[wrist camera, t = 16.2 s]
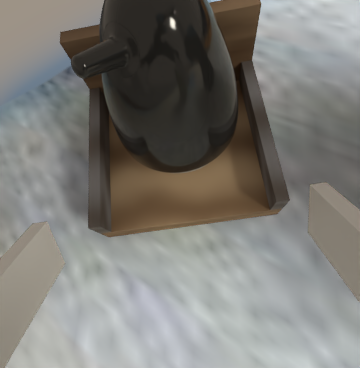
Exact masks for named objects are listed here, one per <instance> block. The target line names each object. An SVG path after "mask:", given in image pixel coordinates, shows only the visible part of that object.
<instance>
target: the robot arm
mask: <svg viewBox="0 0 360 368" xmlns="http://www.w3.org/2000/svg"><path fill="white" fill-rule="evenodd" d="M308 233H309V235H310V236H311V237H312V239H313V240H314V241H315V243H316V244H317V245H318V247H319V248H320V249H321V251H322V252H323V253H324V255H325V256H326V258H327V259H328V260H329V262H330V263H331V264H332V266H333V267H334V268H335V270H336V271H337V272H338V274H339V275H340V277H341V278H342V279H343V281H344V282H345V283H346V285H347V286H348V287H349V289H350V290H351V291H352V293H353V294H354V296H355V297H356V298H357V300H358V301H359V302H360V210H359V209H358V208H357V207H356V206H354V205H353V204H352V203H351V202H350V201H348V200H347V199H346V198H345V197H344V196H342V195H341V194H340V193H339V192H338V191H336V190H335V189H334V188H333V187H332V186H330V185H329V184H328V183H327V182H324V183H317V184H310V193H309V218H308ZM64 265H65V262H64V260H63V257H62V255H61V253H60V250H59V248H58V246H57V243H56V241H55V239H54V236H53V234H52V232H51V230H50V227H49V225H48V223H47V222H40V223H33V224H32V225H31V226H30V227H29V228H28V229H27V230H26V231H25V233H24V234H23V235H22V236H21V237H20V238H19V239H18V240H17V241H16V242H15V243H14V244H13V246H12V247H11V248H10V249H9V250H8V251H7V252H6V253H5V254H4V255H3V256H2V257H1V258H0V368H5V366H6V364H7V363H8V361H9V359H10V358H11V356H12V354H13V352H14V351H15V349H16V347H17V346H18V344H19V342H20V340H21V339H22V337H23V335H24V334H25V332H26V330H27V328H28V327H29V325H30V323H31V321H32V320H33V318H34V316H35V315H36V313H37V311H38V309H39V308H40V306H41V304H42V303H43V301H44V299H45V297H46V296H47V294H48V292H49V291H50V289H51V287H52V285H53V284H54V282H55V280H56V279H57V277H58V275H59V273H60V272H61V270H62V268H63V266H64Z"/></svg>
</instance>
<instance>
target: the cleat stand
mask: <svg viewBox="0 0 360 368" xmlns="http://www.w3.org/2000/svg"><path fill="white" fill-rule="evenodd" d="M209 4H210V6H211V8H212V10H213V12H214V14H215V16H216V18H217V20H218V22H219V25H220V27H221V30H222V32H223V35H224V37H225V40H226V43H227V46H228V49H229V53H230V56H231V60H232V64H233V68H234V73H235V78H236V85H237V94H238V121H237V127H236V131H235V134H234V136H233V138H232V140H231V142H230V144H229V145H228V147H227V148H226V149H225V150H224V151H223V153H222V154H221V155H219V156H218V157H217V158H216V159H215V160H213V161H212V162H210V163H209V164H207V165H205V166H204V167H202V168H200V169H197V170H195V171H191V172H187V173H166V172H160V171H156V170H153V169H150V168H148V167H145V166H144V165H142V164H140V163H139V162H137V161H136V160H135V159H134V158H133V157H132V156H131V155H130V154H129V153H128V152H127V150H126V149H125V148H124V146H123V145H122V143H121V141H120V139H119V137H118V135H117V133H116V130H115V128H114V125H113V123H112V120H111V117H110V114H109V111H108V108H107V104H106V100H105V95H104V90H103V84H102V77H101V74H99V75H96V76H93V77H90V78H87V79H83V80H84V81H85V83H86V84H87V86H88V87H89V89H90V110H89V209H88V228H89V229H91V230H94V231H96V232H98V233H101V234H103V235H105V236H107V237H113V236H120V235H128V234H135V233H142V232H150V231H157V230H164V229H171V228H179V227H186V226H193V225H201V224H208V223H215V222H223V221H230V220H237V219H244V218H252V217H259V216H266V215H274V214H278V212H279V211H280V210H281V209H282V208H283V207H284V206H285V205H286V204H287V202H288V201H289V200H290V199H289V195H288V191H287V188H286V184H285V180H284V177H283V173H282V169H281V166H280V162H279V158H278V155H277V151H276V147H275V144H274V140H273V136H272V133H271V129H270V125H269V121H268V118H267V114H266V110H265V107H264V103H263V99H262V96H261V92H260V88H259V85H258V81H257V77H256V74H255V70H254V66H253V63H252V56H253V50H254V44H255V38H256V32H257V26H258V20H259V14H260V8H261V2H260V0H221V1H216V2H211V3H209ZM99 27H100V24H99V25H95V26H90V27H85V28H79V29H74V30H69V31H65V32H61V35H60V44H61V45H62V47H63V48H64V50H65V52H66V53H67V55H68V56H69V58H70V59H72V57H73V56H74V55H76V54H78V53H80V52H82V51H84V50H86V49H88V48H90V47H92V46H94V45H96V44H98V43H99Z"/></svg>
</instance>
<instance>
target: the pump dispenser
mask: <svg viewBox="0 0 360 368" xmlns="http://www.w3.org/2000/svg"><path fill="white" fill-rule="evenodd" d="M71 66H72V69H73V71H74V72H75V74H76V75H77V76H79V77H80V78H82V79H87V78H90V77H93V76H96V75H99V74H101V77H102V84H103V90H104V95H105V100H106V104H107V108H108V111H109V114H110V117H111V120H112V123H113V125H114V128H115V130H116V133H117V135H118V137H119V139H120V141H121V143H122V145H123V146H124V148H125V149H126V150H127V152H128V153H129V154H130V155H131V156H132V157H133V158H134V159H135V160H136V161H137V162H139V163H140V164H142V165H144V166H145V167H148V168H150V169H153V170H156V171H160V172H166V173H187V172H191V171H195V170H197V169H200V168H202V167H204V166H205V165H207V164H209V163H210V162H212V161H213V160H215V159H216V158H217V157H218V156H219V155H221V154H222V153H223V151H224V150H225V149H226V148H227V147H228V145H229V144H230V142H231V140H232V138H233V136H234V134H235V131H236V127H237V121H238V94H237V85H236V78H235V73H234V68H233V64H232V60H231V56H230V53H229V49H228V46H227V43H226V40H225V37H224V35H223V32H222V30H221V27H220V25H219V22H218V20H217V18H216V16H215V14H214V12H213V10H212V8H211V6H210V4H209V3H208V1H207V0H104V4H103V8H102V13H101V19H100V27H99V43H98V44H96V45H94V46H92V47H90V48H88V49H86V50H84V51H82V52H80V53H78V54H76V55H74V56H73V57H72V59H71Z"/></svg>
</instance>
